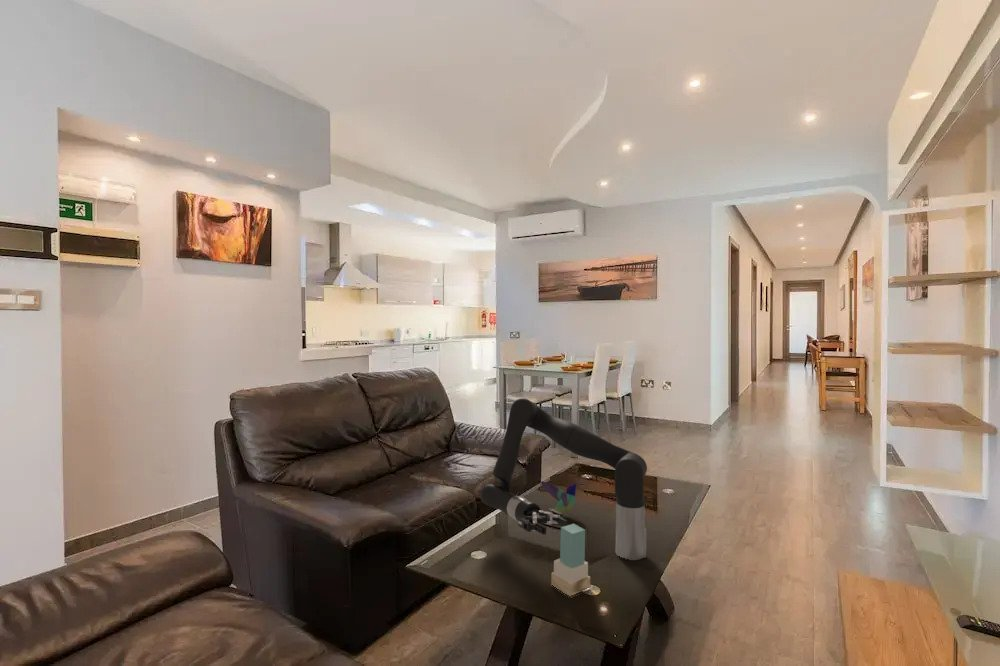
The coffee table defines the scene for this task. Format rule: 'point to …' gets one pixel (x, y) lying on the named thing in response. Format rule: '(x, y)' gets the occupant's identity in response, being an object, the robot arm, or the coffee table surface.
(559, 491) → the decorative sculpture
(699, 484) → the coffee table surface
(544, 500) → the coffee table surface
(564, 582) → the tower base block
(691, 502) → the coffee table surface
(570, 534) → the teal block
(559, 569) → the tower top block
